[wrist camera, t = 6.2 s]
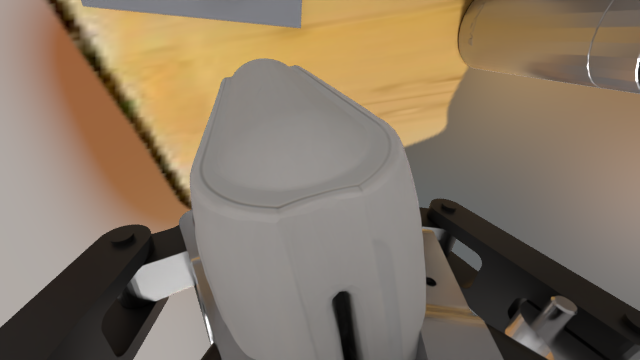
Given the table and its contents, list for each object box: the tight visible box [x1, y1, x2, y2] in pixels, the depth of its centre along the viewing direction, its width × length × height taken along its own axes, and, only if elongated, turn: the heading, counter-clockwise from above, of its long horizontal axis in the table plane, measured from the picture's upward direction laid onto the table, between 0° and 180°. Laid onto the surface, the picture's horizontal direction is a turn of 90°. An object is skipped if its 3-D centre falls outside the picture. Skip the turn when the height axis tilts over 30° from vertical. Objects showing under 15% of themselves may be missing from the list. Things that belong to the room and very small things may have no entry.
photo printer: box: [190, 59, 426, 360], centre depth 10 cm, size 10×4×12 cm, turn 8°
